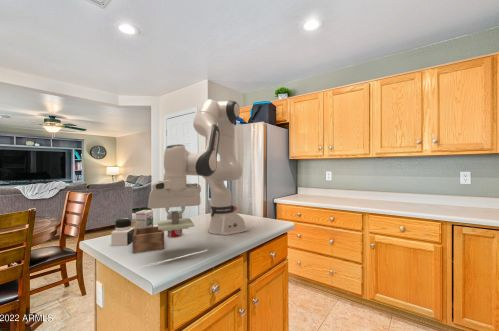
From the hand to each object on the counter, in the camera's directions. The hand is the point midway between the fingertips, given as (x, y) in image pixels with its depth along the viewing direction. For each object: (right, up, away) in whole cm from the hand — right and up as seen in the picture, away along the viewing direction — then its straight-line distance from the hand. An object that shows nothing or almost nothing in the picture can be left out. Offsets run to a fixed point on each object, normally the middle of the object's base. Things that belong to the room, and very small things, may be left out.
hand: (175, 218), depth 92 cm
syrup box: (-21, -16, +19) cm, 33 cm away
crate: (-14, -15, +8) cm, 22 cm away
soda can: (-8, -16, +24) cm, 30 cm away
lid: (0, -3, 0) cm, 3 cm away
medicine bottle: (-28, -16, +13) cm, 35 cm away
